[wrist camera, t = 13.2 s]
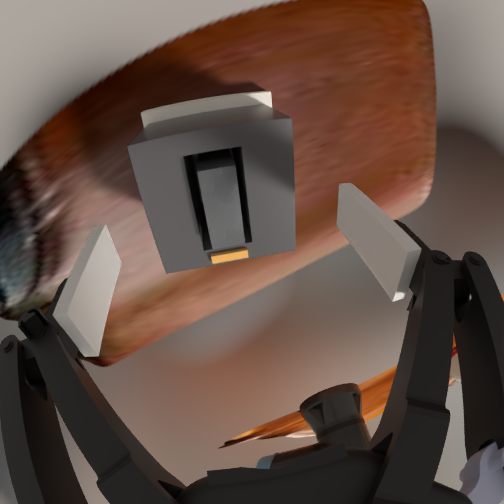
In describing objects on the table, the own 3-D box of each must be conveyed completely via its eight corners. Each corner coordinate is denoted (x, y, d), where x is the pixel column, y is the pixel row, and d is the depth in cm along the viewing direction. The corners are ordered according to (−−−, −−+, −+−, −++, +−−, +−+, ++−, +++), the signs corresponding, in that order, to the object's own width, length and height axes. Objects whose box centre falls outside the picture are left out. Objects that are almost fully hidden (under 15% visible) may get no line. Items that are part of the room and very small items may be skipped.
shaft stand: (274, 206, 27) (307, 269, 19) (171, 224, 26) (163, 294, 18) (266, 90, 20) (307, 103, 13) (144, 110, 19) (110, 135, 12)
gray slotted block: (264, 104, 20) (293, 119, 14) (272, 204, 25) (296, 252, 19) (148, 123, 19) (126, 147, 13) (172, 222, 24) (166, 276, 18)
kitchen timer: (452, 363, 74) (470, 395, 62) (434, 367, 69) (454, 404, 57) (478, 337, 67) (499, 369, 55) (464, 338, 62) (487, 376, 50)
